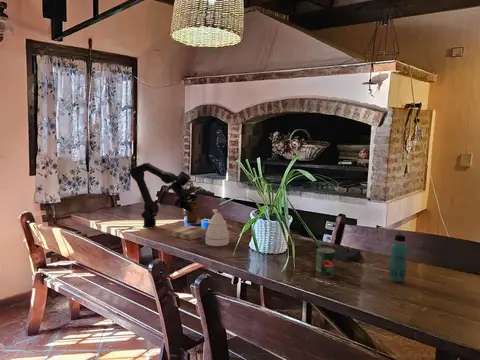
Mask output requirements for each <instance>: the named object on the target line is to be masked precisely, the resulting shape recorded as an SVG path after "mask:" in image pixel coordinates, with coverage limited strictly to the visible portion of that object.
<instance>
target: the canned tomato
mask: <svg viewBox="0 0 480 360" xmlns="http://www.w3.org/2000/svg"><path fill="white" fill-rule="evenodd" d="M320 247H321V246H320ZM320 247H318V248H316V250H317V255H316V261H315V263H316V264H315V265H316V266H315V275H316V276H318V277H320V276H321V277H322V278H333V277H334V276H335V263H336V260H335V250H334V249H332V248H326V247H321V248H320Z"/></svg>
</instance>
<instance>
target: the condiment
mask: <svg viewBox="0 0 480 360" xmlns="http://www.w3.org/2000/svg"><path fill="white" fill-rule="evenodd" d="M188 205H189V206H190V208H191V209H192V212H189V211H187V210H186V219H185V220H184V222H185V223H187V224H188V225H194V224H200V223H201V222H200V221H198V210H197V207H198V205H197V201H196V202H195V201H189V202H188ZM196 205H197V206H196Z"/></svg>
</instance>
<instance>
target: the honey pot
mask: <svg viewBox="0 0 480 360" xmlns="http://www.w3.org/2000/svg"><path fill="white" fill-rule="evenodd" d="M212 212H213V215H212V217H211V219H209V220H208V221H207V224H208V226H207V228H206V229H207V232H206V235H205V244H206V245H208V246H211V247H213V246H214V247H222V246H228V245H229V244H228V243H230V232H229V230H228V226H227V221H226V220H225V219H224V217H223V215H222V214H221V213H220V212H218V209H212Z"/></svg>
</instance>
